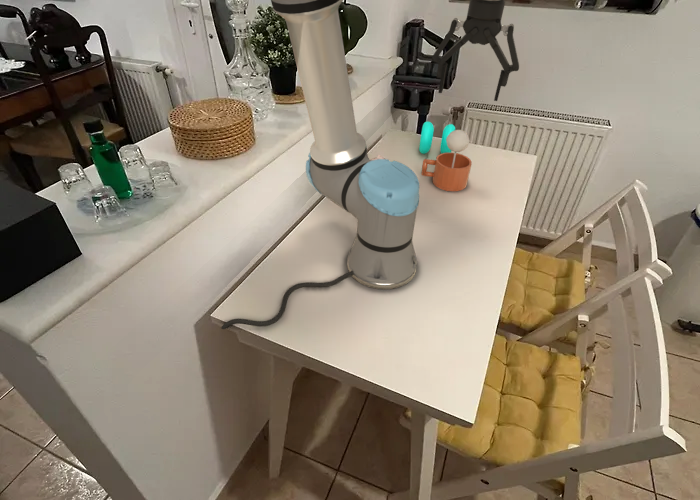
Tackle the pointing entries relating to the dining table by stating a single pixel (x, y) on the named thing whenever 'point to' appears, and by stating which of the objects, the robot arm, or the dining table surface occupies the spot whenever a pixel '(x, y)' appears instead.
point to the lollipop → (457, 142)
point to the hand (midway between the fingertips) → (467, 95)
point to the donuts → (428, 136)
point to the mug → (448, 171)
